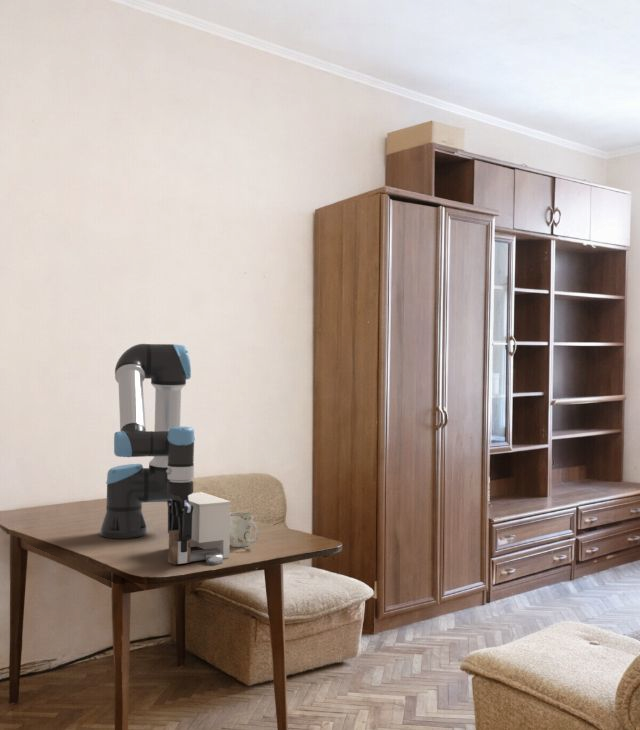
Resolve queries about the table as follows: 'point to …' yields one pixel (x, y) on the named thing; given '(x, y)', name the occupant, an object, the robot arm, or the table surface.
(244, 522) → the mug
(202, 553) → the blade tool
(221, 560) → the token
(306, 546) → the table surface
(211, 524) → the cabinet
